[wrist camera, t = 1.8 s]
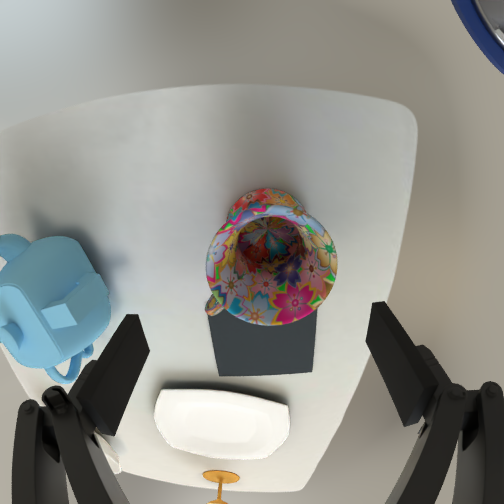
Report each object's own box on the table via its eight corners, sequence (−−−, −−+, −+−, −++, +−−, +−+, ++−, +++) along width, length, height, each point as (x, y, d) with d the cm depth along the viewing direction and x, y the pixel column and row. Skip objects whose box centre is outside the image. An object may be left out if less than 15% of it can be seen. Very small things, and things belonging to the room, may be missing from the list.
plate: (304, 388, 38) (305, 398, 37) (274, 455, 47) (274, 462, 45) (149, 368, 38) (146, 377, 36) (162, 441, 46) (160, 448, 44)
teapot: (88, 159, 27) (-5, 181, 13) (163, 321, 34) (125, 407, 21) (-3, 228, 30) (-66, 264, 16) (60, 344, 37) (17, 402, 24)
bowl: (42, 400, 45) (31, 418, 39) (107, 418, 44) (97, 441, 38) (79, 445, 52) (71, 461, 46) (140, 461, 52) (134, 480, 46)
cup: (235, 484, 54) (232, 534, 39) (200, 479, 54) (194, 529, 39) (243, 473, 51) (240, 529, 36) (204, 467, 50) (197, 524, 35)
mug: (269, 164, 27) (277, 175, 17) (329, 229, 29) (361, 273, 20) (187, 243, 30) (157, 291, 20) (247, 298, 33) (243, 361, 23)
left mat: (317, 298, 33) (317, 300, 32) (311, 370, 37) (312, 372, 37) (206, 303, 33) (205, 305, 33) (219, 374, 37) (219, 376, 37)
